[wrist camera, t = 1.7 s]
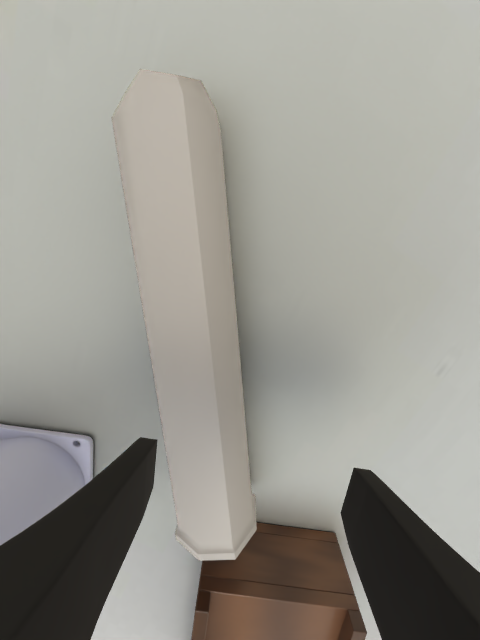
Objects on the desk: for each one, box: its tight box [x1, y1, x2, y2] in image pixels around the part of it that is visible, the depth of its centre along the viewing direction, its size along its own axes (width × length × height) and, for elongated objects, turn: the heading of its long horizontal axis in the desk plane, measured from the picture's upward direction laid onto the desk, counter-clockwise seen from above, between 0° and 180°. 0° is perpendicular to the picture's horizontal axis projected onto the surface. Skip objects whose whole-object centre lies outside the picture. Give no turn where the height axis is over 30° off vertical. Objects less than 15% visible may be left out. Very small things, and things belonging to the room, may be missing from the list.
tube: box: [112, 69, 257, 561], centre depth 15 cm, size 5×5×25 cm
